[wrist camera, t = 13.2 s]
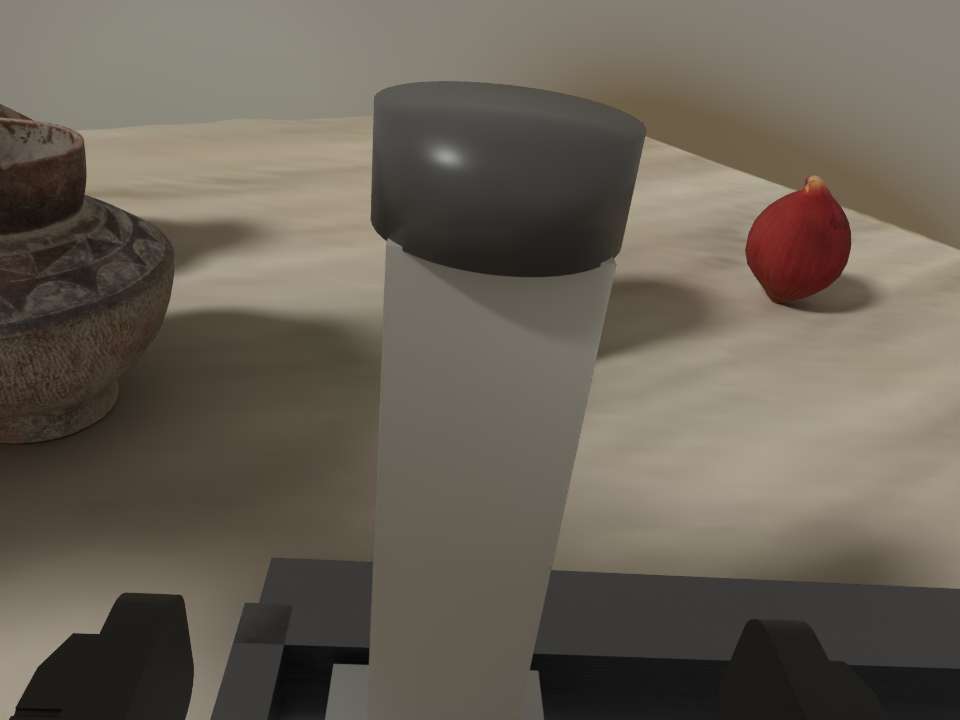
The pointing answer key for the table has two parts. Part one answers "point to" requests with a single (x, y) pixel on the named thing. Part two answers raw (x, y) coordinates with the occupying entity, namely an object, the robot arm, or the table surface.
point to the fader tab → (481, 381)
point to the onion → (799, 243)
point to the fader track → (607, 641)
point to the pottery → (68, 286)
